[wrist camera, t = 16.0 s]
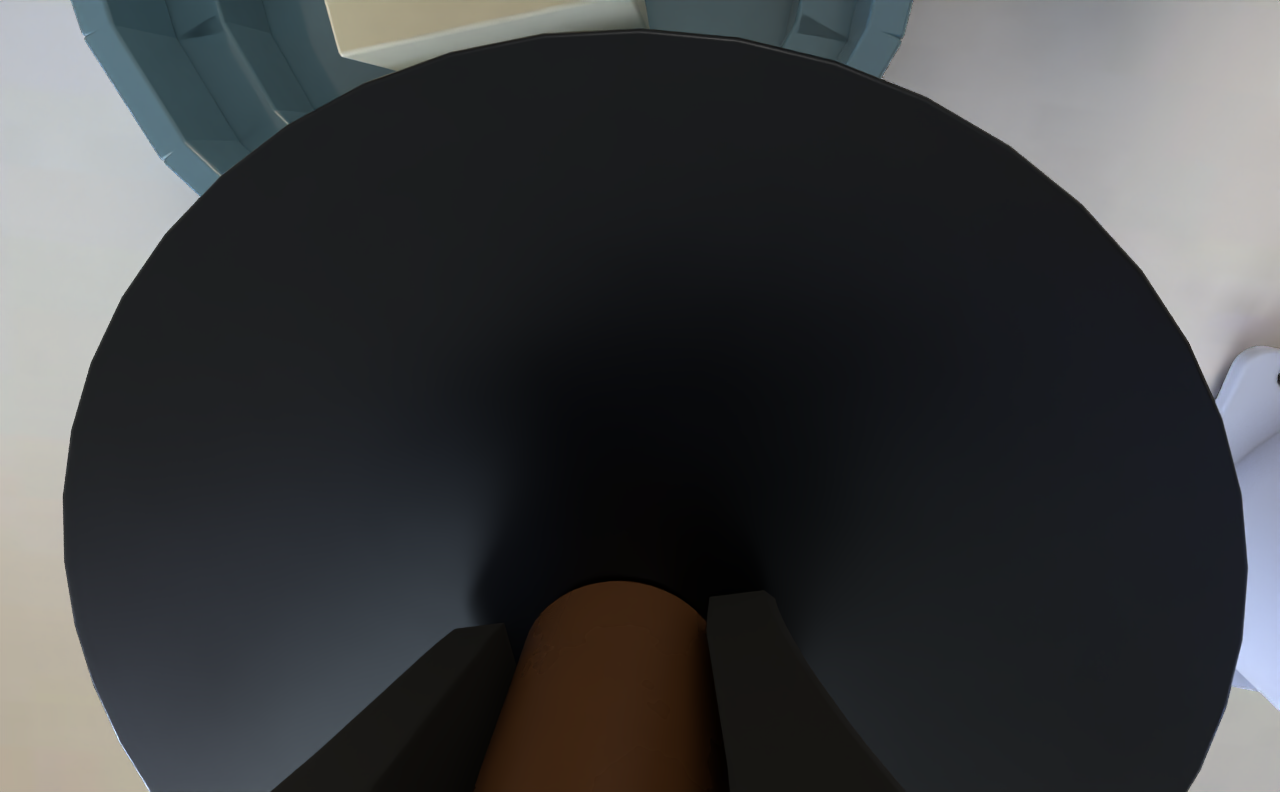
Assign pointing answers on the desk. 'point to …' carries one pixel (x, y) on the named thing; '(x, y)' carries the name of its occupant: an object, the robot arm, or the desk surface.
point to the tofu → (463, 24)
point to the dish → (316, 73)
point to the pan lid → (653, 434)
